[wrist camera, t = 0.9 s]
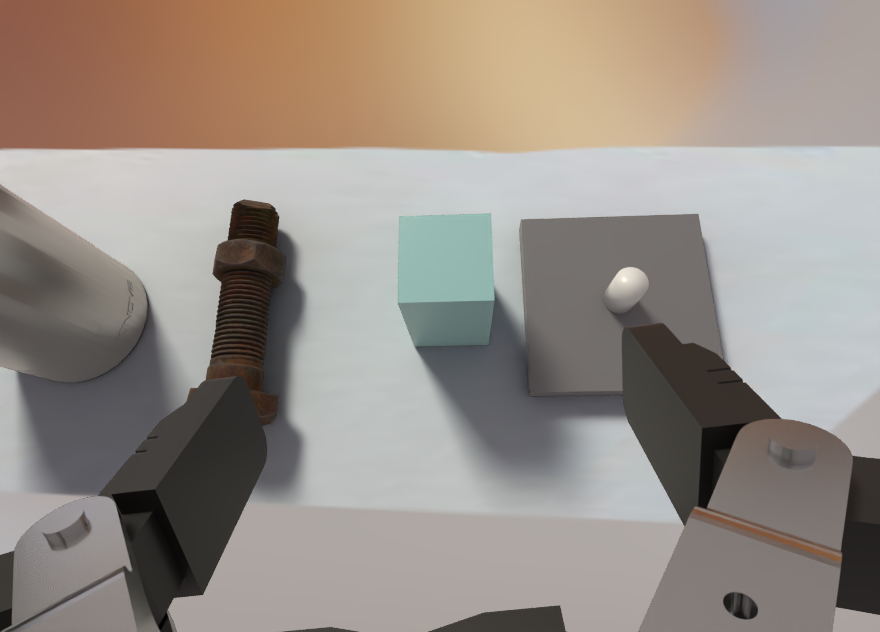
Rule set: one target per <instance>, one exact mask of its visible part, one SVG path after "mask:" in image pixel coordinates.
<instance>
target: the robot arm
mask: <svg viewBox="0 0 880 632" xmlns="http://www.w3.org/2000/svg"><path fill="white" fill-rule="evenodd" d="M146 318H147V298H146V292H145V290H144V288H143V285H142V283H141V281H140V280H139V278H138V277H137V276H136V275H135V273H134V272H133V271H131V270H130V269H129V268H127V267H126V266H124V265H123V264H121V263H120V262H118V261H117V260H115V259H114V258H112V257H111V256H109V255H108V254H106V253H104V252H103V251H101V250H100V249H98V248H97V247H95V246H94V245H93V244H91V243H90V242H88V241H86V240H85V239H83V238H82V237H80V236H79V235H77V234H76V233H74V232H73V231H71V230H70V229H68V228H66V227H65V226H63V225H62V224H60V223H59V222H57V221H56V220H54V219H53V218H51V217H50V216H48V215H46V214H45V213H43V212H42V211H40V210H39V209H37V208H36V207H34V206H33V205H31V204H29V203H28V202H26V201H25V200H23V199H22V198H20V197H19V196H17V195H16V194H14V193H13V192H11V191H9V190H8V189H6V188H5V187H3V186H2V185H0V367H4V368H7V369H11V370H15V371H18V372H22V373H26V374H30V375H34V376H38V377H42V378H46V379H50V380H54V381H58V382H81V381H85V380H90V379H93V378H95V377H97V376H100V375H102V374H104V373H106V372H107V371H109V370H110V369H112V368H113V367H115V366H117V365H118V364H119V363H120V362H121V361H122V360H123V359H124V358H125V357H126V356H127V355H128V354H129V353H130V351H131V350H132V349H133V347H134V346H135V345H136V343H137V342H138V340H139V337H140V335H141V333H142V331H143V329H144V325H145V321H146ZM622 388H623V402H624V408H625V412H626V416H627V419H628V422H629V424H630V426H631V428H632V430H633V431H634V433H635V435H636V437H637V439H638V441H639V443H640V444H641V446H642V448H643V450H644V452H645V454H646V456H647V457H648V459H649V461H650V463H651V465H652V467H653V469H654V470H655V472H656V474H657V476H658V478H659V480H660V482H661V483H662V485H663V487H664V489H665V491H666V493H667V495H668V497H669V498H670V500H671V502H672V504H673V506H674V508H675V510H676V511H677V513H678V515H679V517H680V519H681V521H682V523H683V524H684V526H685V527H684V530H683V532H682V534H681V536H680V538H679V541H678V543H677V545H676V548H675V550H674V552H673V554H672V557H671V559H670V561H669V563H668V566H667V568H666V570H665V572H664V575H663V577H662V579H661V581H660V584H659V586H658V588H657V590H656V593H655V595H654V597H653V599H652V602H651V604H650V606H649V608H648V611H647V613H646V615H645V617H644V620H643V622H642V624H641V627H640V629H639V631H638V632H832V630H833V623H834V615H835V608H836V607H838V608H844V609H850V610H856V611H861V612H866V613H872V614H878V615H880V459H875V458H865V457H857V456H852V454H851V451H850V450H849V448H848V447H847V446H846V445H845V444H844V443H843V442H842V441H841V440H840V439H839V438H837V437H836V436H834V435H833V434H831V433H829V432H828V431H826V430H823V429H821V428H819V427H816V426H813V425H811V424H807V423H803V422H799V421H794V420H787V419H781V418H780V417H779V416H778V415H777V414H776V413H775V412H774V411H773V410H772V409H771V408H770V407H769V406H768V405H767V404H766V403H765V402H764V401H763V400H762V399H761V398H760V397H759V396H758V395H757V394H756V393H755V392H754V391H753V390H752V389H751V388H750V387H749V386H748V385H747V384H746V383H743V381H742V379H741V378H740V377H739V376H738V375H737V374H736V373H735V372H734V371H731V368H730V367H729V365H728V364H727V363H726V362H725V361H724V360H723V359H722V358H721V357H720V356H719V355H718V354H717V353H714V352H712V351H710V350H708V349H706V348H704V347H702V346H700V345H698V344H695V343H687V344H682V343H681V342H680V341H679V340H678V338H677V337H676V336H675V335H674V334H673V333H672V332H671V331H670V330H669V328H668V327H667V326H666V325H665V324H664V323H655V324H647V325H639V326H632V327H625V328H624V329H623V332H622ZM266 455H267V444H266V438H265V434H264V431H263V428H262V425H261V422H260V419H259V416H258V413H257V410H256V407H255V404H254V401H253V398H252V395H251V392H250V389H249V386H248V384H247V382H246V380H245V379H244V378H243V377H241V376H235V377H227V378H220V379H212V380H205V381H203V382H202V383H201V384H200V386H199V387H198V388H197V389H196V391H195V392H194V393H193V394H192V395H191V397H190V398H189V399H188V400H187V402H186V403H185V404H184V405H183V406H181V407H180V408H178V409H177V410H175V411H174V412H173V413H171V414H170V415H169V416H167V417H166V418H164V419H163V420H162V421H160V423H159V424H158V425H157V426H156V427H155V429H154V430H153V431H152V432H151V433H150V434H149V436H148V437H147V440H146V441H144V442H143V443H142V444H141V445H140V446H139V448H138V449H137V450H136V454H134V455H132V456H131V457H130V458H129V459H128V461H127V462H126V463H125V464H124V465H123V466H122V468H121V469H120V470H119V471H118V472H117V474H116V475H115V476H114V477H113V478H112V480H111V481H110V482H109V483H108V484H107V485H106V487H105V488H104V489H103V490H102V491H101V493H100V494H99V495H98V496H94V497H87V498H83V499H80V500H77V501H74V502H71V503H69V504H66V505H64V506H62V507H60V508H58V509H56V510H54V511H53V512H51V513H49V514H47V515H46V516H44V517H43V518H42V519H40V520H39V521H37V522H36V523H35V524H34V525H33V526H31V527H30V528H29V529H28V530H27V531H26V532H25V534H23V536H22V537H21V538H20V540H19V541H18V542H17V545H16V547H15V550H14V551H12V552H9V553H6V554H2V555H0V632H177V631H176V628H175V624H174V622H173V620H172V617H171V616H170V613H169V611H168V608H169V606H170V604H171V602H172V600H173V598H177V597H187V596H196V595H203V594H204V591H205V589H206V587H207V585H208V583H209V581H210V579H211V577H212V575H213V572H214V570H215V568H216V566H217V564H218V562H219V560H220V558H221V556H222V553H223V551H224V549H225V547H226V545H227V543H228V541H229V539H230V537H231V535H232V532H233V530H234V528H235V526H236V524H237V522H238V520H239V518H240V516H241V513H242V511H243V509H244V507H245V505H246V503H247V501H248V499H249V497H250V494H251V492H252V490H253V488H254V486H255V484H256V482H257V480H258V478H259V476H260V473H261V471H262V469H263V467H264V465H265V461H266ZM285 632H357V631H351V630H345V629H339V628H333V627H327V628H317V629H306V630H296V631H285ZM429 632H566V631H565V626H564V622H563V618H562V613H561V608H560V606H549V607H539V608H528V609H518V610H507V611H497V612H486V613H481V614H479V615H476V616H473V617H470V618H467V619H464V620H461V621H458V622H455V623H453V624H449V625H446V626H444V627H441V628H438V629H435V630H432V631H429Z"/></svg>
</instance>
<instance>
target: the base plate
mask: <svg viewBox="0 0 880 632" xmlns="http://www.w3.org/2000/svg"><path fill="white" fill-rule="evenodd" d="M519 233H520V250H521V267H522V284H523V301H524V318H525V336H526V353H527V370H528V387H529V396H572V395H623V388H622V332H623V329H624V328H625V327H632V326H639V325H647V324H655V323H664V324H665V325H666V326H667V327H668V328H669V330H670V331H671V332H672V333H673V334H674V335H675V336H676V337H677V338H678V340H679V341H680V342H681V343H682V344H687V343H695V344H698V345H700V346H702V347H704V348H706V349H708V350H710V351H712V352H714V353H717V354H718V355H719V356H720V357H721V358H722V359H723V354H722V349H721V343H720V337H719V331H718V325H717V320H716V314H715V308H714V302H713V296H712V291H711V285H710V279H709V273H708V267H707V262H706V256H705V250H704V244H703V238H702V233H701V227H700V221H699V215H698V214H683V215H651V216H620V217H588V218H557V219H525V220H521V223H520V228H519Z"/></svg>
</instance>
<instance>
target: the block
mask: <svg viewBox="0 0 880 632" xmlns="http://www.w3.org/2000/svg"><path fill="white" fill-rule="evenodd" d="M494 301H495V300H494V276H493V252H492V228H491V213H490V214H459V215H428V216H399V256H398V305H399V308H400V310H401V313H402V315H403V318H404V321H405V323H406V326H407V328H408V331H409V334H410V336H411V339H412V341H413V344H414V346H461V345H489V338H490V331H491V323H492V316H493V308H494Z"/></svg>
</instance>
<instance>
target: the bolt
mask: <svg viewBox="0 0 880 632" xmlns="http://www.w3.org/2000/svg"><path fill="white" fill-rule="evenodd" d="M233 206H234V207H233V208H232V212H231V214H232V215H231V223H230V228H229V236H228V241H225V242H222V243H221V244H219V245H218V247H217V251H216V256H215V261H214V268H213V275H214V276H215V277H216V278H217V279H218V280H219V281H220V282H221V284H222V285H221V291H220V294H221V295H220V296H219V299H220V300H219V305H218V310H217V313H218V314H217V316H216V317H217V320H216V323H217V324H216V330H215V335H214V340H213V343H214V344H213V345H212V348H213V349H212V351H211V352H212V354H211V360H210V366H209V367H208V369H207V375H206V380H212V379H220V378H227V377H235V376H241V377H243V378H244V379H245V380H246V382H247V384H248V386H249V389H250V392H251V395H252V398H253V401H254V404H255V407H256V410H257V413H258V416H259V419H260V422H261V425H265V424H271V423H272V422H273V421H274V419H275V416H276V414H277V406H278V395H274V394H269V393H264V392H262V386H263V376H264V372H263V367H262V365H263V361H262V360H264V357H263V355H264V354H265V352H264V350H265V343H266V342H265V340H266V334H267V333H266V331H267V325H268V323H267V321H268V315H269V314H268V311H269V308H268V307H269V305H270V304H269V302H270V299H269V298H270V297H271V295H270V293H271V289H272V288H275V287H277V286H278V285H279V284H280V283H281V280H282V278H283V275H284V271H285V261H286V257H285V256H284V255H283V254H282V253H281V252H280V251H279V250H278V249H276V240H277V231H278V223H279V216H278V213H277V212H276V211H275V208H274V207H273V206H272V205H271V204H268V203H263V202H257V201H250V200H241V201H239V202H237V203H235V204H234V205H233ZM196 389H197V388H191V389H190V391H189V395H188V398H187V400H188V399H189V398H190V397H191V395H192V394H193V393H194V392H195V391H196Z"/></svg>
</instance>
